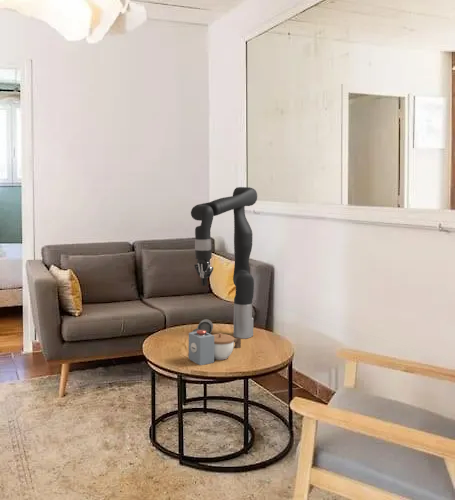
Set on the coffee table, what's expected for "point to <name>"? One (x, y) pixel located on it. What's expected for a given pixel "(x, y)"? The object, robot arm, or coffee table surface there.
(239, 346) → the brown curved bar
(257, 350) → the coffee table surface
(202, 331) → the plunger
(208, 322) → the ceramic mug
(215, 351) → the lidded bowl
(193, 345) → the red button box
